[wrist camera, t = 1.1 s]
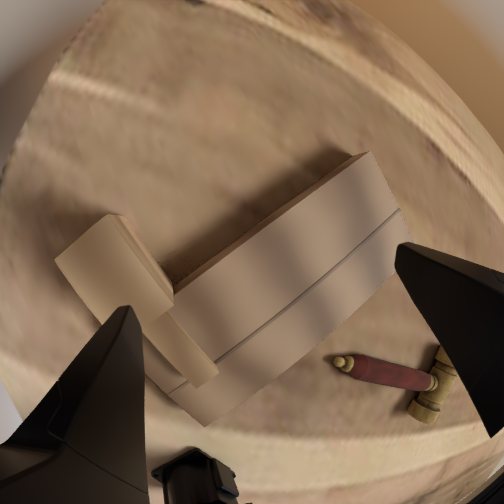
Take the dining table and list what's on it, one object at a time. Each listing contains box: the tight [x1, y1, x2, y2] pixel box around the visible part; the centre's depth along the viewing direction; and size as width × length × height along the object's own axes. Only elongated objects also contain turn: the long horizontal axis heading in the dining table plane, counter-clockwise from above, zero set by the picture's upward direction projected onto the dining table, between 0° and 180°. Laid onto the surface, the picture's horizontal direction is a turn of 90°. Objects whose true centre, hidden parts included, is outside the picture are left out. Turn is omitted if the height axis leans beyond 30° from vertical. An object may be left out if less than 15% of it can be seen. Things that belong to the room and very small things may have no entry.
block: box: [54, 214, 219, 389], centre depth 18 cm, size 4×12×6 cm, turn 35°
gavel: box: [334, 346, 457, 424], centre depth 27 cm, size 21×5×10 cm
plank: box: [142, 151, 414, 427], centre depth 22 cm, size 24×10×3 cm, turn 125°
